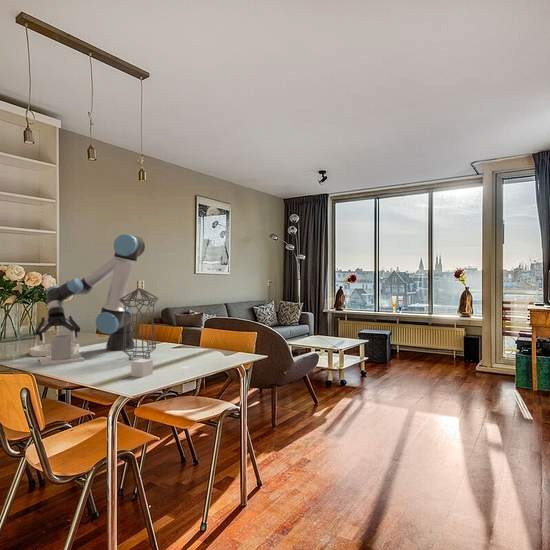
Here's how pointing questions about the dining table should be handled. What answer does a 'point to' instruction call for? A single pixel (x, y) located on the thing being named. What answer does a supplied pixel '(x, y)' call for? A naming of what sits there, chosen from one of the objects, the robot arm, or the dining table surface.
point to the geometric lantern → (136, 321)
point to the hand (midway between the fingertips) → (59, 343)
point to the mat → (48, 360)
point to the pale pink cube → (141, 367)
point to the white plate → (49, 350)
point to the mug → (61, 347)
